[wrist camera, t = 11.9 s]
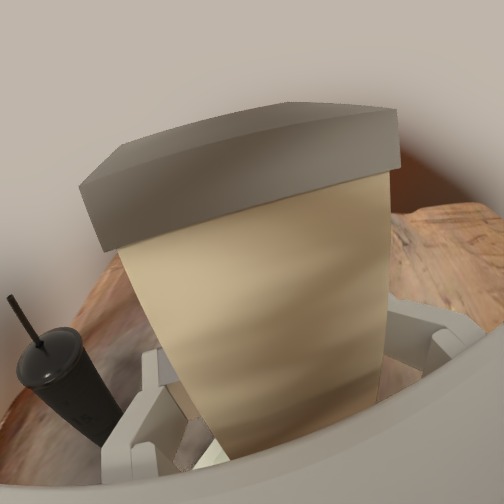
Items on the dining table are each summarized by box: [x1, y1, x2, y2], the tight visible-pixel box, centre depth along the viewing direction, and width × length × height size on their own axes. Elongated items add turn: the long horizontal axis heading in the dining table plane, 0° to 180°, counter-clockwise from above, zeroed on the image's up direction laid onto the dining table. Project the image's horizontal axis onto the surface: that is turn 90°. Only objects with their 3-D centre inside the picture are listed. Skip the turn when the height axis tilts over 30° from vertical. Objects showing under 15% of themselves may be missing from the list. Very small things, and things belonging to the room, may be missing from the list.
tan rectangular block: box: [79, 102, 401, 460], centre depth 9 cm, size 5×5×14 cm
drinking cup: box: [7, 294, 124, 448], centre depth 25 cm, size 8×8×20 cm
